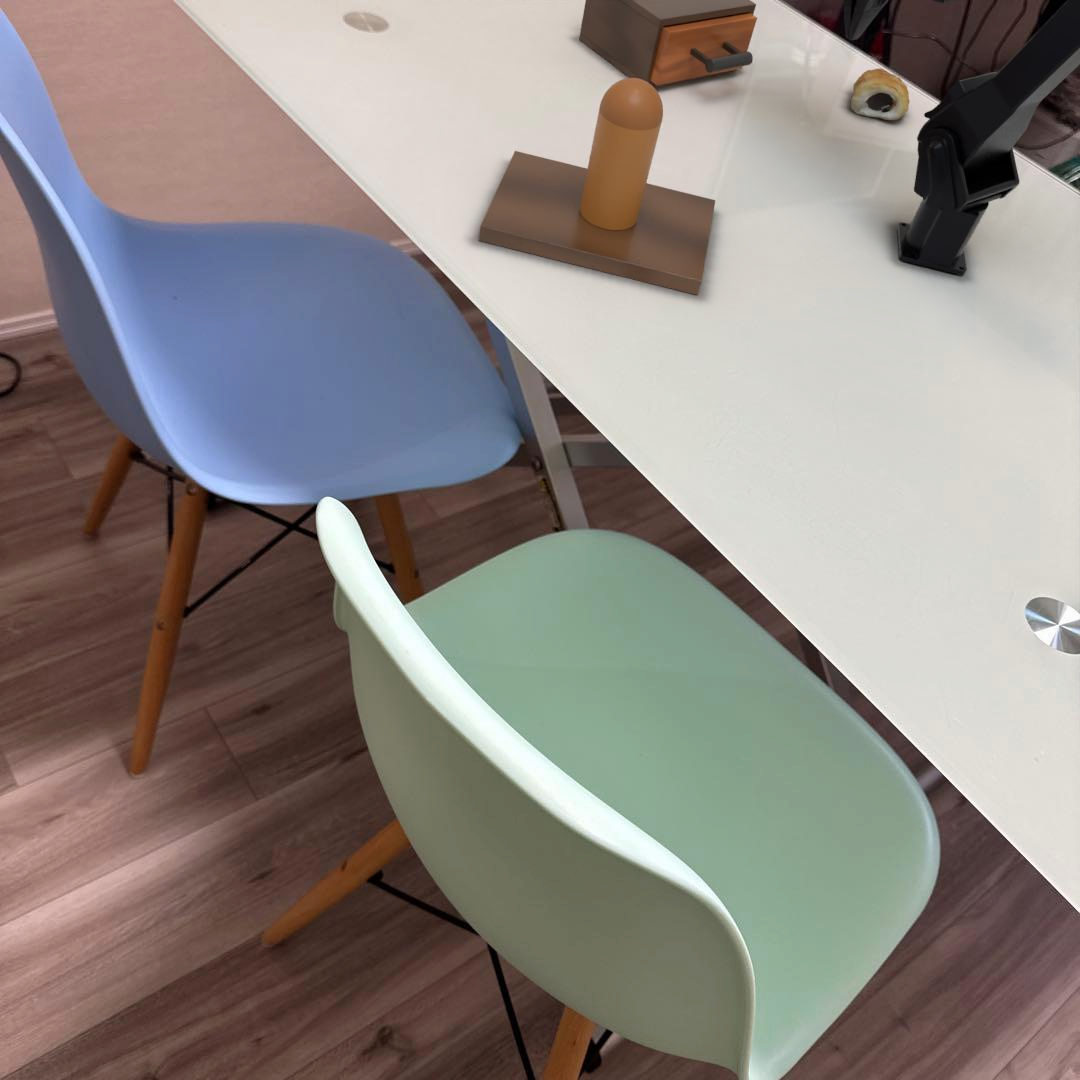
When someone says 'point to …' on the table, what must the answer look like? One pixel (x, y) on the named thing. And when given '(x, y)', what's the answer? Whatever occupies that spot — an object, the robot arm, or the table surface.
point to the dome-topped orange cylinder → (621, 154)
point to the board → (563, 234)
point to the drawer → (703, 48)
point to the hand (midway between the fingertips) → (851, 38)
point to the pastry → (880, 95)
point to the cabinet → (645, 28)
